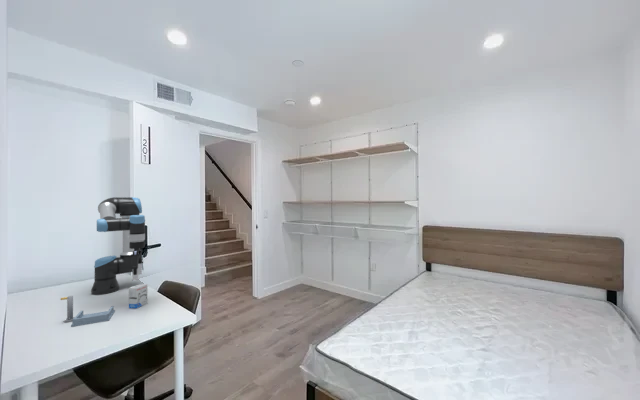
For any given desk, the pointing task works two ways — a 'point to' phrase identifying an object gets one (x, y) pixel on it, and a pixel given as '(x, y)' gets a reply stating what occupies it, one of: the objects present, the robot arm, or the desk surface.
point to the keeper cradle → (86, 318)
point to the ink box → (137, 296)
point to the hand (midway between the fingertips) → (137, 277)
